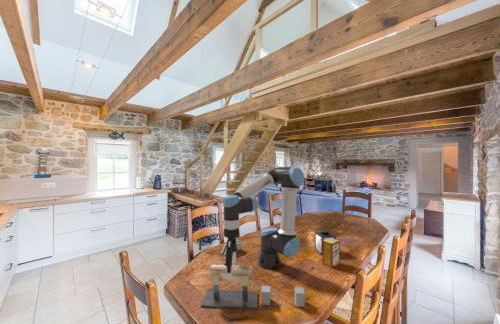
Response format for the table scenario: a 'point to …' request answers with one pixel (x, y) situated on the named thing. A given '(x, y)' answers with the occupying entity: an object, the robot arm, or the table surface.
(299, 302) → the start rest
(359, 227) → the table surface
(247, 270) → the beige long block
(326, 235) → the lantern
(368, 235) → the table surface
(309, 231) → the table surface
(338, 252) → the baking soda box
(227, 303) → the bracket stand
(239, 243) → the grey curved block
